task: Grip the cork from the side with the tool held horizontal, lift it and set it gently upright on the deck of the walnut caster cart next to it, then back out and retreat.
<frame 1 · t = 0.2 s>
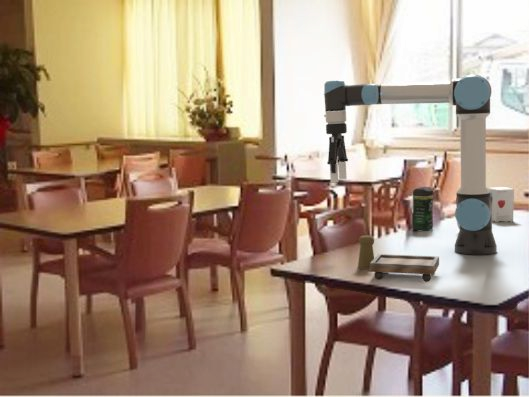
hand: (338, 180, 303), 27 cm above the table, tool pointing down, fingers open, 13 cm apart
supplement box: (500, 221, 375), on the table
coffee jar: (422, 230, 355), on the table
lidded jar: (469, 233, 344), on the table
cart: (405, 268, 265), point 3 cm above the table, slide at 0.0 cm
cork: (366, 267, 282), on the table
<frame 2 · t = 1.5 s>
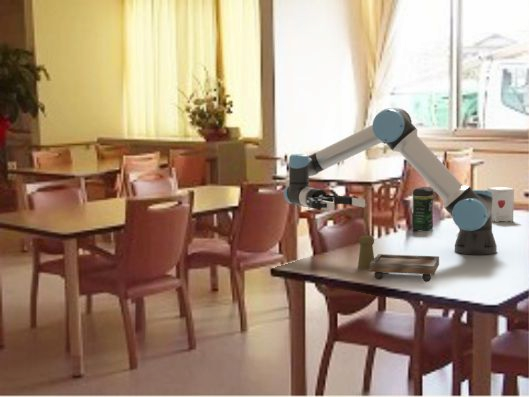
hand: (349, 205, 287), 21 cm above the table, tool horizontal, fingers open, 13 cm apart
nothing on the table moved.
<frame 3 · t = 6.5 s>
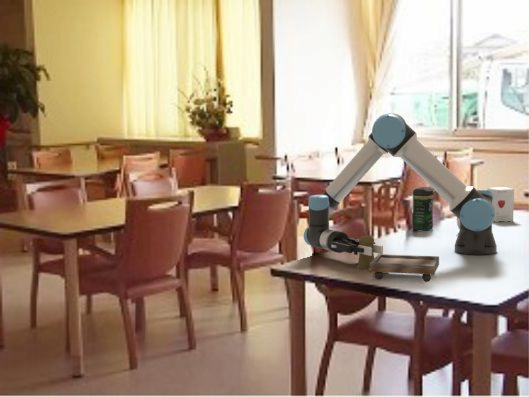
hand: (376, 250, 276), 7 cm above the table, tool horizontal, fingers closed on cork, 4 cm apart
cork: (366, 267, 282), on the table, touching gripper
everything else where it was.
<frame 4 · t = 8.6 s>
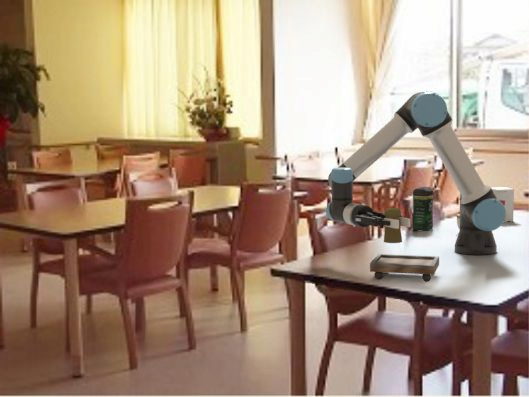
hand: (403, 223, 262), 18 cm above the table, tool horizontal, fingers closed on cork, 4 cm apart
cork: (392, 242, 267), point 11 cm above the table, touching gripper
everything else where it was.
when the fingers open (12 cm above the table, at t = 10.7 s): cork moves 1 cm, point 5 cm above the table.
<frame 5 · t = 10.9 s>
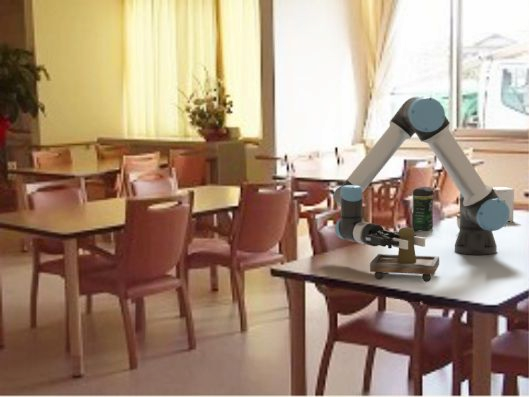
hand: (415, 243, 259), 12 cm above the table, tool horizontal, fingers open, 6 cm apart
cork: (406, 261, 265), point 5 cm above the table, touching gripper
everything else where it was.
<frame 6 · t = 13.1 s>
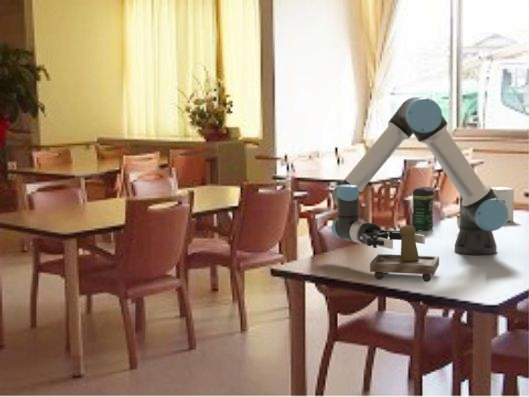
hand: (408, 242, 262), 12 cm above the table, tool horizontal, fingers open, 13 cm apart
cart: (405, 268, 265), point 3 cm above the table, slide at 0.0 cm, touching cork
cork: (409, 260, 267), point 5 cm above the table, touching cart
everything else where it was.
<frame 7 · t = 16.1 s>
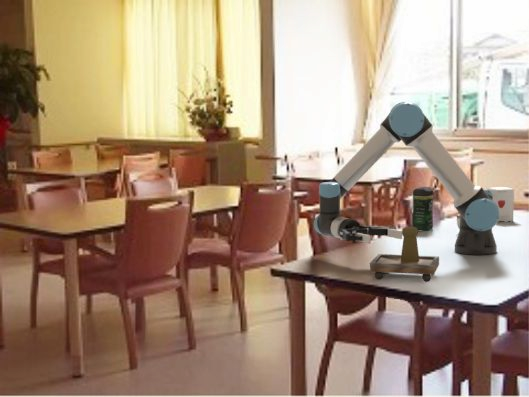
hand: (385, 237, 272), 12 cm above the table, tool horizontal, fingers open, 13 cm apart
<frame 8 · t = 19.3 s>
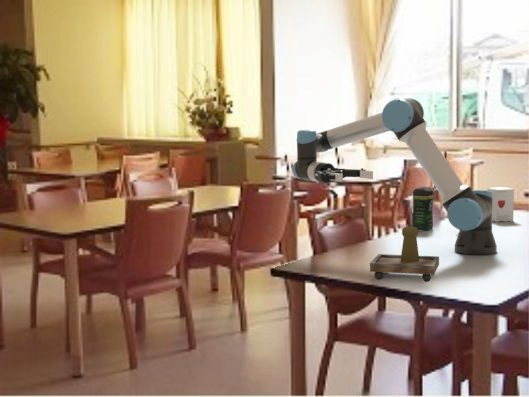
hand: (357, 176, 291), 30 cm above the table, tool horizontal, fingers open, 13 cm apart
nothing on the table moved.
at the end: cork inside the target area on the cart (3.4 cm from its centre), point 4.8 cm above the cart's base; cork tilted 0°; the gripper is holding nothing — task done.
